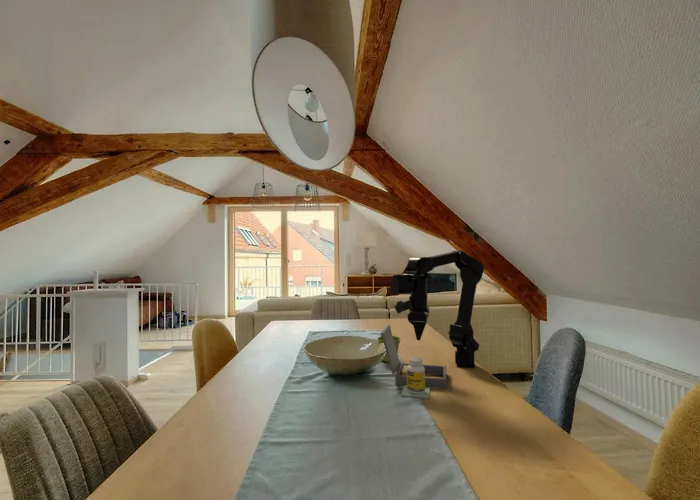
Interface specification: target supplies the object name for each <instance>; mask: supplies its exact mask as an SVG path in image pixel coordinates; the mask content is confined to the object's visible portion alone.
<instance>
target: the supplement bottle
mask: <svg viewBox="0 0 700 500" xmlns="http://www.w3.org/2000/svg"><path fill="white" fill-rule="evenodd" d="M408 360H409V361H408V364H410V365H409V366H408V367H407V390H408V391H409V392H411V393H415V394H421V393H423V392H424V391H425V377H426V373H425V368H424V366H422V365H423V358H421V357H418V356H414V357H413V356H412V357H409V359H408Z"/></svg>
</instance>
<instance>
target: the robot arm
mask: <svg viewBox="0 0 700 500" xmlns="http://www.w3.org/2000/svg"><path fill="white" fill-rule="evenodd" d="M453 263H454V265H455V267H456V268H457V269H458V270H459V276H460V280H461V282H462V285H461V291H460V292H461V293H460V297H459V304H458V305H459V306H458V310H457V318H456V321H455V322H454V323H450V325H449V332H448V335H449V338H448V339H449V340H450V341H451V342H450V343H451V345H452V347H453V348H456V350H455V351H454V363H455V364H456V367H461V368H472V369H473V368H474V369H475V368H476V365H475V364H476V363H475V352H476V351H479V347H480V344H479V343H478V341H476V339H475V338H474V328H473V326H472V324H471V320H472V314H473V310H474V309H473V308H474V302H475V294H476V289H477V285H478V284H479V283H480V281H481V280H482V278H483V274H484V270H485V269H484V267H485V266H484V265H483V263H482V262H480V261H479V260H477V259H476V258H475V257H473V256H471V255H469V254H468V253H466V252H465V251H464V250H452V251H450V252H446V253H440V254H436V255H433V256H426V257H425V256H412V257H410V258H409V260H408V261H407V265H406V266H405V268H404V270H403V272H401V274H394V273H393V276H392V278H391V280H390V283H389V289H390V292H391V294H393V295H404V294H406V295H407V294H410V296H409V299H406V300H399V301H396V303H395V304H394V310H395V311H396V314H397V315H398V314H401V313H402V312H405V311H409V313H407V321H408V323H410V324H411V326H413V329H414V334H415V338H416V340H417V341H421V338H422V336H423V333H424V330H425V328H426V325H427V323H428V318H429V316H430V307H429V306H428V280H429V281H430V280H432V279H433V277H432V276H431V275H429V272H431V271H432V270H434V269H435V268H437V267H442V266H445V265H449V264H453Z"/></svg>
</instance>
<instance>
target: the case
mask: <svg viewBox="0 0 700 500" xmlns="http://www.w3.org/2000/svg"><path fill="white" fill-rule="evenodd" d="M399 365H400V366H399V368H398V371H396V373H395V376H394V377H395V380H394V381H395V382H394V383H395V385H397V386H404V385H407V367H408V366H409V365H410V363H407V362H406V363H405V362H400V363H399ZM422 366H424V368H425V375H426V374H427V375H428V374H429V375H438V376H440V375H442V378H440V377H431V376H430V377H428V376H425V387H430V389H431V388H434V389H447V365H435V364H422Z"/></svg>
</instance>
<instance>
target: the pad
mask: <svg viewBox="0 0 700 500" xmlns="http://www.w3.org/2000/svg"><path fill="white" fill-rule="evenodd" d="M430 392H431V387H425V391H424V392H423V393H421V394H415V393H411V392H409V391H408V390H407V385H403V389H402V391H401V397H406V396H407V398H408V397H409V398H417V397H419V398H418V399H429V398H430Z"/></svg>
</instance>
